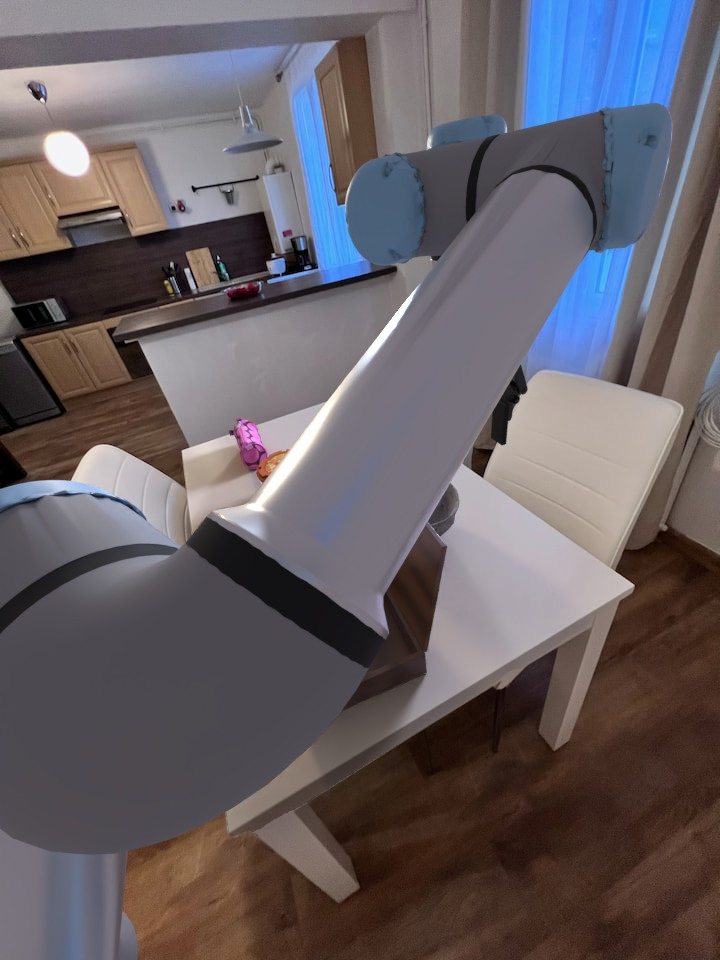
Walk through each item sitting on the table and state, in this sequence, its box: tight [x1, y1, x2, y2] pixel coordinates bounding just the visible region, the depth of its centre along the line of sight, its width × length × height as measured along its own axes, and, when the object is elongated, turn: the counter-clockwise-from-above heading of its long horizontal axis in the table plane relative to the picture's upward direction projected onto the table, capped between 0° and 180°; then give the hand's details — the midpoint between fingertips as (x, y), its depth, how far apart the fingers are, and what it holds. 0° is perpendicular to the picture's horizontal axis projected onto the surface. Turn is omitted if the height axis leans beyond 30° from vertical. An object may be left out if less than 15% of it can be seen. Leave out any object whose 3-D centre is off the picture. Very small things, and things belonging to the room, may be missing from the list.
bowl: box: [428, 482, 460, 537], centre depth 94 cm, size 21×21×10 cm
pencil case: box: [228, 417, 269, 470], centre depth 134 cm, size 21×10×10 cm, turn 24°
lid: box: [388, 522, 448, 653], centre depth 67 cm, size 23×21×4 cm
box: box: [341, 589, 428, 712], centre depth 73 cm, size 22×21×6 cm
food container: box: [255, 448, 290, 484], centre depth 112 cm, size 16×16×11 cm
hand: (462, 453), depth 59 cm, fingers open, 12 cm apart
